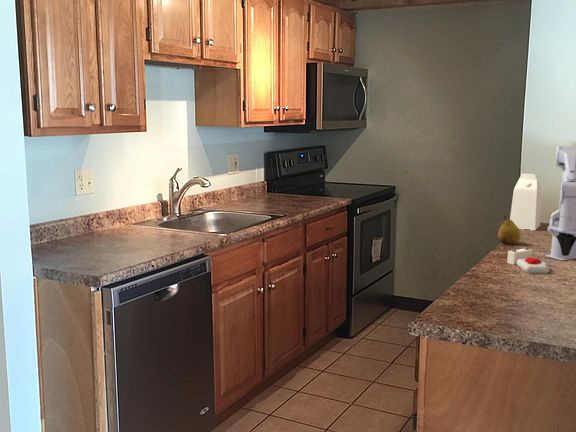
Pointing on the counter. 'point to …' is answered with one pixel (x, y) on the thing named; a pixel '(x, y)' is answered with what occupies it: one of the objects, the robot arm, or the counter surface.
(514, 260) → the ledger strip
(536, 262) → the icon
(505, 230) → the fruit
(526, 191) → the milk
